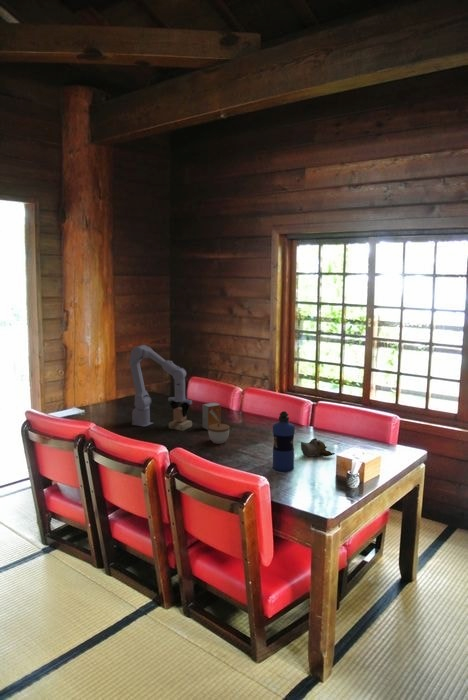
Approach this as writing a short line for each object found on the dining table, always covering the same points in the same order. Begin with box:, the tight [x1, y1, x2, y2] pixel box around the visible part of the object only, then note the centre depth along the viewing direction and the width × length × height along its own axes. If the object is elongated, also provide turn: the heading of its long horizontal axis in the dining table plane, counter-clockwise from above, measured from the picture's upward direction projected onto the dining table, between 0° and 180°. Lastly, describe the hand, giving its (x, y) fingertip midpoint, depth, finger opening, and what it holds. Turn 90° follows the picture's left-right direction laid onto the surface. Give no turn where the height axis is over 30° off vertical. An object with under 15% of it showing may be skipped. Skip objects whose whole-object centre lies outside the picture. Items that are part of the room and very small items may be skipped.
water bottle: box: [272, 411, 296, 473], centre depth 227 cm, size 9×9×25 cm
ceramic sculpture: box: [300, 437, 335, 458], centre depth 244 cm, size 11×9×15 cm
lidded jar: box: [207, 423, 230, 445], centre depth 263 cm, size 11×11×9 cm
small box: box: [201, 402, 222, 431], centre depth 287 cm, size 8×6×13 cm
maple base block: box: [168, 419, 193, 432], centre depth 288 cm, size 9×9×4 cm
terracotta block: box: [172, 406, 187, 421], centre depth 287 cm, size 5×5×6 cm
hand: (180, 415), depth 287 cm, fingers closed on terracotta block, 5 cm apart
